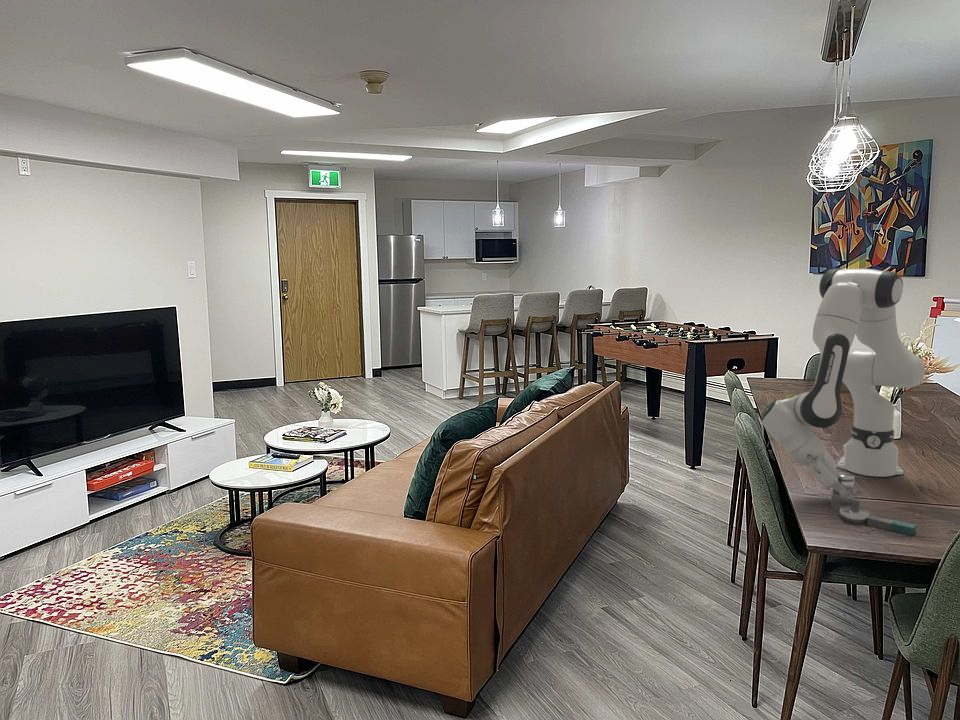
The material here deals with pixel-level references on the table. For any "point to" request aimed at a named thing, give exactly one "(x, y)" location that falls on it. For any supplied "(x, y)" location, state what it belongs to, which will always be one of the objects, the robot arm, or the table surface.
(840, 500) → the cylinder on square base
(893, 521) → the ratchet
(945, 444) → the table surface
